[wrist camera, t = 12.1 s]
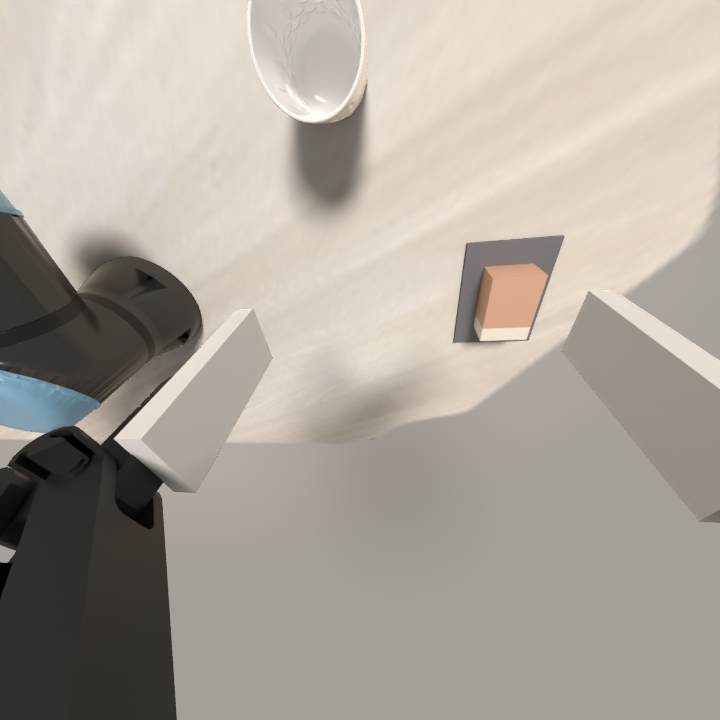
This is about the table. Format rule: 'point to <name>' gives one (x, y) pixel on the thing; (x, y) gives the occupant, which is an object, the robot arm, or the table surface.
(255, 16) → the white cup
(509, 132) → the table surface
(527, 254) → the mat
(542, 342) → the table surface
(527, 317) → the flat block
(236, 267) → the table surface
